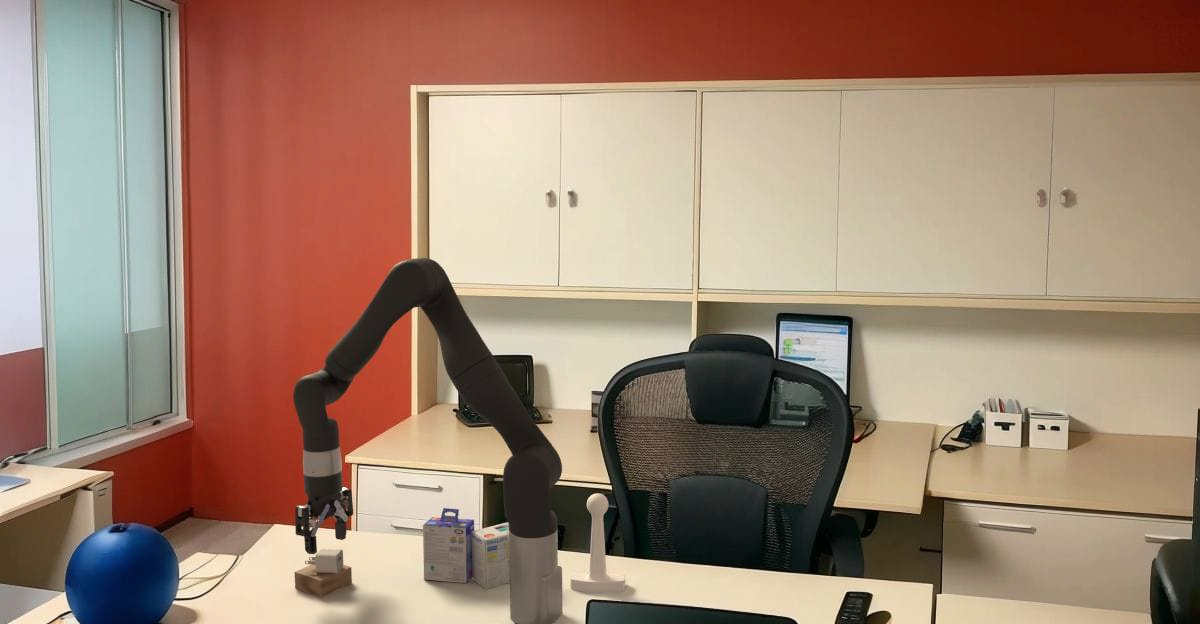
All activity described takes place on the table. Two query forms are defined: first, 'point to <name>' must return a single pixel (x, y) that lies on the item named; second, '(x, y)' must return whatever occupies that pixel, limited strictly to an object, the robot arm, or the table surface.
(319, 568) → the usb wall charger
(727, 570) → the table surface
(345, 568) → the walnut block
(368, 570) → the table surface
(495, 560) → the light bulb box
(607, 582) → the joystick
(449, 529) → the ink cartridge box
